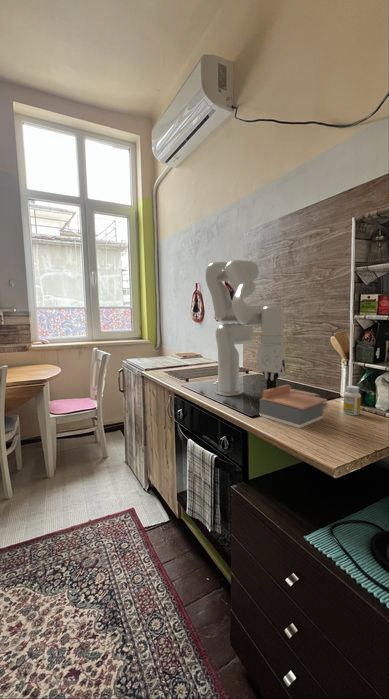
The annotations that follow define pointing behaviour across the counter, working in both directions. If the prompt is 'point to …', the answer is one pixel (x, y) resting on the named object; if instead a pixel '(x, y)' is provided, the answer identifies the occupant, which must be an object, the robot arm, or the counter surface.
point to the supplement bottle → (352, 401)
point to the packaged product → (305, 393)
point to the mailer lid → (290, 397)
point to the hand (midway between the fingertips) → (271, 390)
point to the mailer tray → (290, 413)
